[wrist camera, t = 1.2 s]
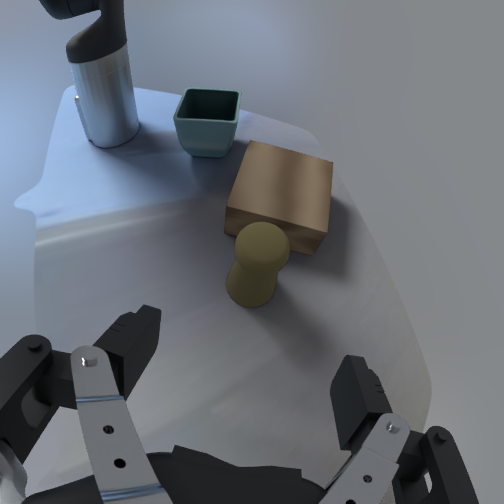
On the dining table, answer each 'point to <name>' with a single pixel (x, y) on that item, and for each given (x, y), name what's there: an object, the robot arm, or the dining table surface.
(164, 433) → the dining table surface
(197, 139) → the flower pot
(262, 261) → the cork
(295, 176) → the walnut block
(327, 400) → the dining table surface
